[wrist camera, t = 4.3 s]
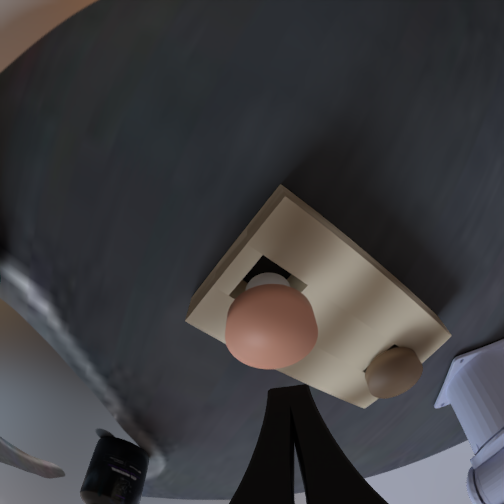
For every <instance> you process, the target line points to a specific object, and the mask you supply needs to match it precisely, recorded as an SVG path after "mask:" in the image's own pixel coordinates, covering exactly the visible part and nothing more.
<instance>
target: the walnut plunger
mask: <svg viewBox="0 0 504 504" xmlns="http://www.w3.org/2000/svg"><path fill="white" fill-rule="evenodd" d="M422 371H423V367H422V364H421V362H420V360H419V358H418V357H417V355H416V353H415V351H414V350H412V349H411V348H408V347H398V346H397V345H395V344H394V345H393V346H391V347H390V348H389V349H388V350H387V351H386V352H384V353H382V354H380V355H379V356H377V357H376V358H375V359H374V360H373V361H372V362H371V363H370V364H369V366H368V367H367V369H366V371H365V379H366V382H367V385H368V388H369V391H370V393H371V395H373V396H374V397H376V398H391V397H394V396H397V395H400V394H402V393H404V392H405V391H407V390H408V389H410V388H411V387H412V386H413V385H414V384H415V383H416V382H417V381H418V380H419V378H420V377H421V374H422Z"/></svg>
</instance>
